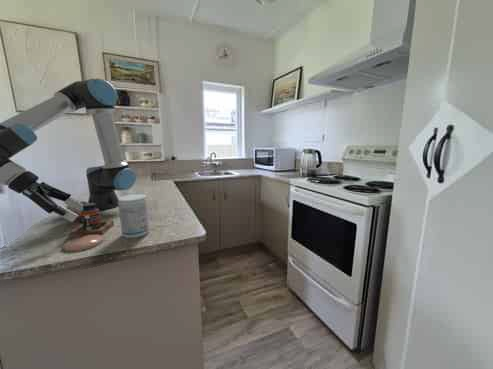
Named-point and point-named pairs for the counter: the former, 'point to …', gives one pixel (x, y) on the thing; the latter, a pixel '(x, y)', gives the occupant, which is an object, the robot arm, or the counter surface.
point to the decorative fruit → (76, 210)
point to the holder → (79, 230)
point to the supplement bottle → (90, 217)
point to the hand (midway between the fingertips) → (79, 213)
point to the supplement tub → (133, 215)
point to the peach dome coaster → (83, 243)
